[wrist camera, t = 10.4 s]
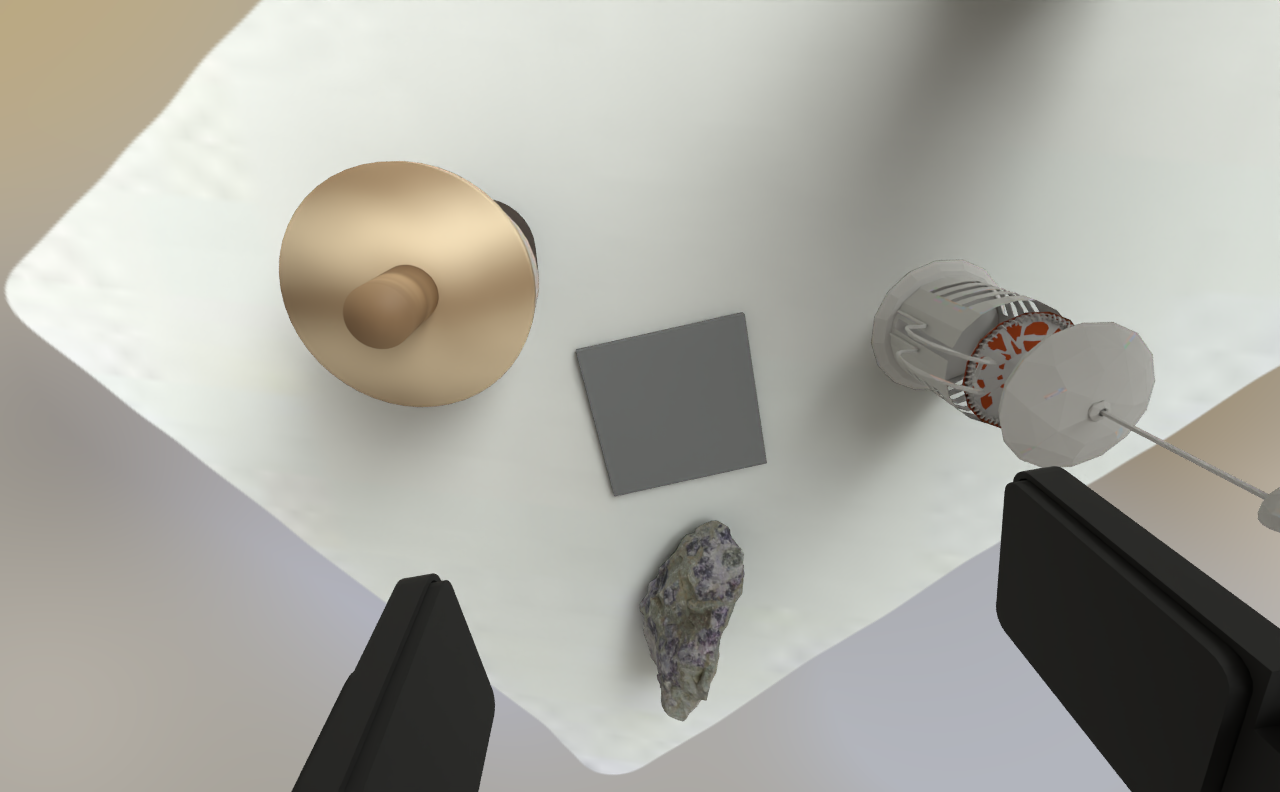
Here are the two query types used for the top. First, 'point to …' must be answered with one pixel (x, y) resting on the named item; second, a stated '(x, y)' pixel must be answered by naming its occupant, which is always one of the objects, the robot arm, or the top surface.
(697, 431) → the mat
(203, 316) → the top surface
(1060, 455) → the french press
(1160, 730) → the robot arm
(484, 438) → the top surface
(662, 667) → the mineral rock
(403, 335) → the lid
